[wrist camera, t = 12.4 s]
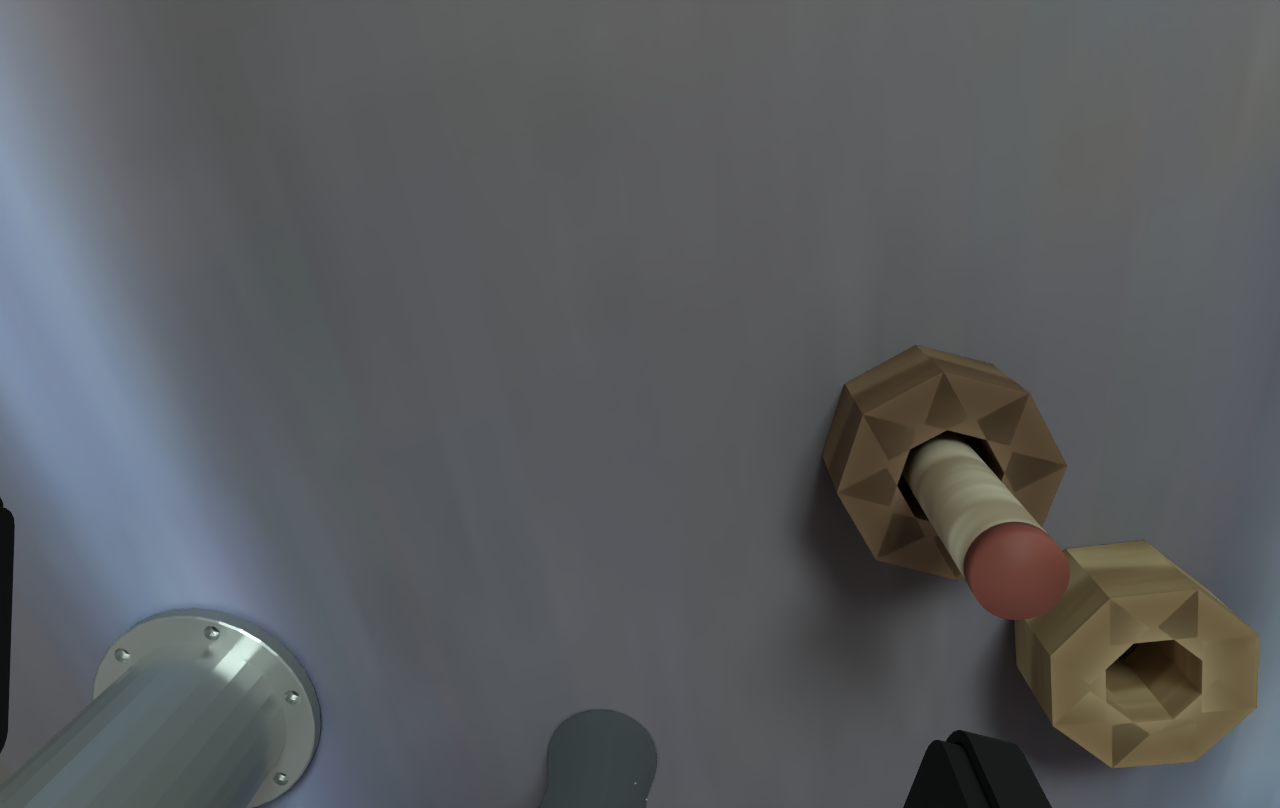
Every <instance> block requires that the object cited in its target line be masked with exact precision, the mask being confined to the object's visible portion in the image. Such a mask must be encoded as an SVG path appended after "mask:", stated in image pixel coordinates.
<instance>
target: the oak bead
mask: <svg viewBox="0 0 1280 808" xmlns="http://www.w3.org/2000/svg"><path fill="white" fill-rule="evenodd" d="M1063 553H1064V554H1065V556H1066V558H1067V560H1068V563H1069V567H1070V579H1069V584H1068V587H1067V590H1066V592H1065V593H1064V595H1063V597H1062V598H1061V599H1060V601H1059V602H1058V603H1057V604H1056V605H1055V606H1054V607H1052V608H1051V609H1050V610H1048V611H1047V612H1045V613H1043V614H1041V615H1039V616H1036V617H1033V618H1030V619H1024V620H1014V624H1015V646H1016V666H1017V667H1018V669H1019V671H1020V672H1021V674H1022V676H1023V677H1024V679H1025V681H1026V682H1027V684H1028V686H1029V687H1030V689H1031V691H1032V692H1033V694H1034V696H1035V697H1036V699H1037V701H1038V702H1039V704H1040V706H1041V707H1042V709H1043V711H1044V712H1045V714H1046V716H1047V717H1048V719H1049V721H1050V722H1051V724H1052V725H1053V726H1054V727H1055V728H1056V729H1058V730H1059V731H1061V732H1062V733H1063V734H1065V735H1066V736H1068V737H1069V738H1070V739H1072V740H1073V741H1075V742H1076V743H1078V744H1079V745H1080V746H1082V747H1083V748H1085V749H1086V750H1087V751H1089V752H1090V753H1092V754H1093V755H1094V756H1096V757H1097V758H1099V759H1100V760H1101V761H1103V762H1104V763H1106V764H1107V765H1108V766H1110V767H1111V768H1122V767H1134V766H1146V765H1158V764H1170V763H1181V762H1193V761H1196V760H1197V759H1199V758H1200V757H1201V756H1202V755H1203V754H1204V753H1205V752H1207V751H1208V750H1209V749H1210V748H1211V747H1212V746H1213V745H1215V744H1216V743H1217V742H1218V741H1219V740H1220V739H1221V738H1223V737H1224V736H1225V735H1226V734H1227V733H1228V732H1230V731H1231V730H1232V729H1233V728H1234V727H1235V726H1236V725H1238V724H1239V723H1240V722H1241V721H1242V720H1243V719H1244V718H1246V717H1247V716H1248V715H1249V714H1250V713H1251V712H1252V711H1254V710H1255V709H1256V708H1257V691H1258V665H1259V639H1260V636H1259V635H1258V634H1257V633H1256V632H1255V631H1254V630H1253V629H1251V628H1250V627H1249V626H1248V625H1247V624H1246V623H1245V622H1244V621H1242V620H1241V619H1240V618H1239V617H1238V616H1237V615H1236V614H1235V613H1233V612H1232V611H1231V610H1230V609H1229V608H1228V607H1227V606H1226V605H1224V604H1223V603H1222V602H1221V601H1220V600H1219V599H1218V598H1216V597H1215V596H1214V595H1213V594H1212V593H1211V592H1210V591H1209V590H1207V589H1206V588H1205V587H1204V586H1203V585H1202V584H1201V583H1200V582H1198V581H1197V580H1195V579H1194V578H1193V577H1191V576H1190V575H1189V574H1188V573H1186V572H1185V571H1184V570H1182V569H1181V568H1180V567H1178V566H1177V565H1176V564H1174V563H1173V562H1172V561H1170V560H1169V559H1168V558H1166V557H1165V556H1164V555H1162V554H1161V553H1160V552H1159V551H1157V550H1156V549H1155V548H1153V547H1152V546H1151V545H1149V544H1148V543H1147V542H1145V541H1135V542H1125V543H1116V544H1107V545H1098V546H1089V547H1080V548H1071V549H1065V550H1064V551H1063ZM1134 643H1141V644H1139V645H1138V646H1137V647H1136V648H1135V649H1134V650H1133V651H1132V652H1131V653H1130V654H1129V655H1128V656H1127V657H1126V658H1125V659H1119V660H1117V659H1118V658H1119V657H1120V656H1121V655H1122V654H1123V653H1124V652H1125V651H1126V650H1127V649H1128V648H1129V647H1130V646H1131V645H1133V644H1134Z"/></svg>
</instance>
